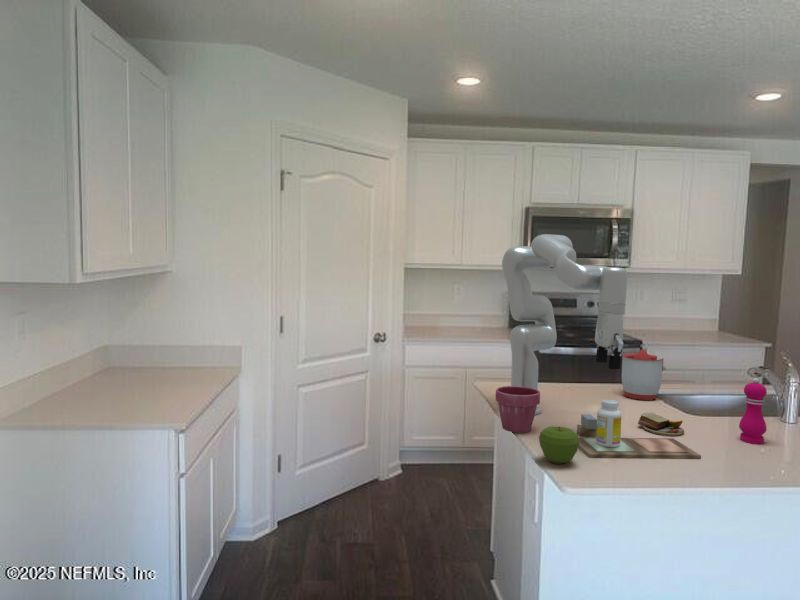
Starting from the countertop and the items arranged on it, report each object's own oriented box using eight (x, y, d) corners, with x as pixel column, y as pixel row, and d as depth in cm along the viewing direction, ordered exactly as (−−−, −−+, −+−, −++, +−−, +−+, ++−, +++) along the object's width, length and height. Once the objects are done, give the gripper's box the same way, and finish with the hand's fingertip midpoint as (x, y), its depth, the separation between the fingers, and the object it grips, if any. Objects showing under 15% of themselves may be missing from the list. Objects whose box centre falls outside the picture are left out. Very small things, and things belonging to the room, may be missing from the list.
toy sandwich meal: (667, 439, 177) (668, 424, 176) (631, 427, 188) (632, 413, 188) (692, 434, 183) (693, 420, 182) (655, 423, 194) (656, 409, 194)
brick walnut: (579, 436, 177) (580, 427, 177) (576, 433, 180) (577, 424, 180) (598, 437, 177) (599, 427, 177) (595, 434, 180) (596, 424, 180)
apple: (554, 471, 147) (556, 433, 146) (529, 458, 156) (531, 422, 155) (587, 466, 151) (588, 429, 150) (561, 453, 160) (562, 419, 160)
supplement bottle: (619, 442, 167) (621, 400, 167) (620, 449, 161) (622, 405, 160) (595, 439, 170) (598, 397, 169) (595, 446, 163) (597, 402, 163)
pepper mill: (756, 445, 171) (761, 381, 170) (733, 439, 178) (737, 376, 176) (770, 442, 175) (774, 379, 173) (747, 436, 181) (751, 374, 180)
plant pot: (501, 420, 193) (502, 383, 192) (542, 426, 187) (544, 388, 186) (489, 431, 180) (490, 391, 179) (533, 438, 174) (534, 397, 173)
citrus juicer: (672, 402, 223) (675, 352, 222) (628, 401, 223) (631, 351, 222) (655, 393, 239) (657, 346, 237) (614, 392, 239) (616, 345, 238)
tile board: (589, 457, 157) (589, 453, 157) (570, 440, 172) (571, 436, 172) (700, 458, 159) (701, 454, 159) (673, 441, 174) (673, 437, 174)
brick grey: (596, 429, 175) (597, 419, 175) (586, 428, 175) (587, 419, 175) (590, 423, 181) (590, 414, 181) (580, 423, 181) (581, 414, 181)
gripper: (588, 305, 176) (585, 359, 178) (610, 311, 159) (606, 371, 160) (612, 306, 176) (608, 360, 178) (636, 312, 159) (632, 372, 161)
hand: (607, 365), depth 169 cm, fingers open, 9 cm apart
